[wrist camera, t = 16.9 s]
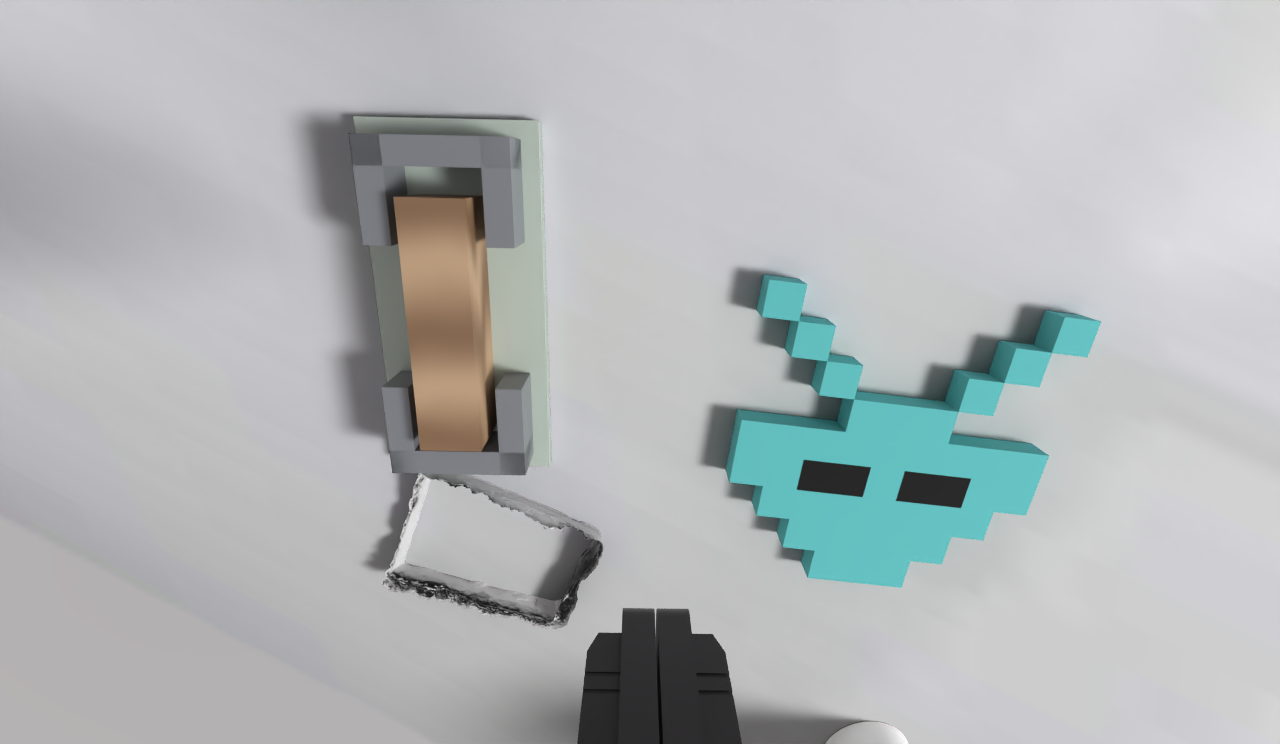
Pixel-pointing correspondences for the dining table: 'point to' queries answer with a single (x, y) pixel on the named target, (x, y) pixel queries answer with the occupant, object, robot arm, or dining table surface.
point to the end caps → (502, 188)
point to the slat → (448, 318)
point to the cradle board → (509, 269)
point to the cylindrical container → (868, 734)
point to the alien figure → (888, 453)
